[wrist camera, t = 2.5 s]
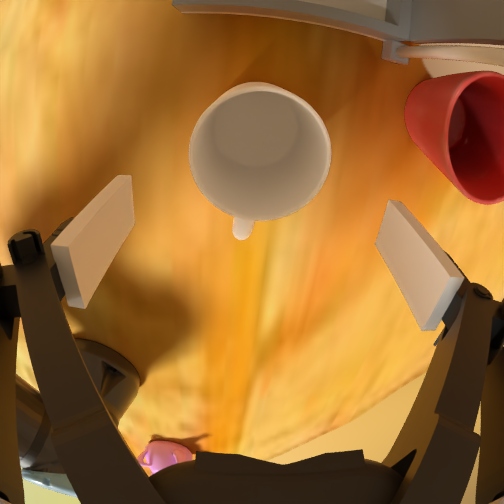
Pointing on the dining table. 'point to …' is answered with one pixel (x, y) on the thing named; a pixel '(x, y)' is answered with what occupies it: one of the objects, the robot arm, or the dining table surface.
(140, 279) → the dining table surface
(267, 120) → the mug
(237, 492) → the robot arm
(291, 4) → the case
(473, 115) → the flower pot
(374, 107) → the dining table surface
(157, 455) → the pink toy pig
